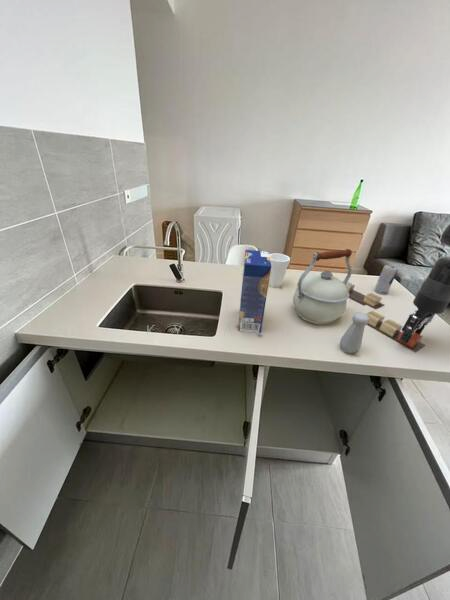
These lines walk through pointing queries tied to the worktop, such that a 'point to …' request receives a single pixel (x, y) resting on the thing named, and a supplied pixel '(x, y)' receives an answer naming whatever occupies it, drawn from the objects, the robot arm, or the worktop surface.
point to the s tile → (411, 339)
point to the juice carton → (254, 290)
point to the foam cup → (278, 269)
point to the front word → (389, 329)
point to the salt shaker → (354, 333)
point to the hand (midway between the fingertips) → (409, 337)
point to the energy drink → (385, 279)
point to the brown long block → (365, 298)
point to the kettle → (322, 291)
